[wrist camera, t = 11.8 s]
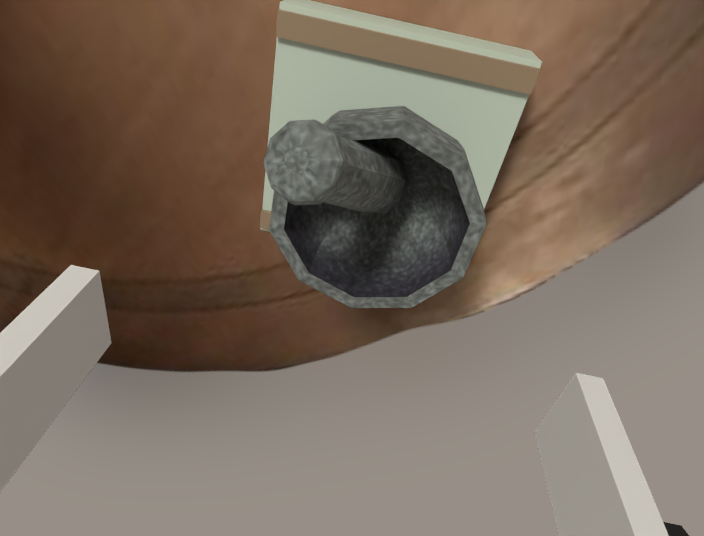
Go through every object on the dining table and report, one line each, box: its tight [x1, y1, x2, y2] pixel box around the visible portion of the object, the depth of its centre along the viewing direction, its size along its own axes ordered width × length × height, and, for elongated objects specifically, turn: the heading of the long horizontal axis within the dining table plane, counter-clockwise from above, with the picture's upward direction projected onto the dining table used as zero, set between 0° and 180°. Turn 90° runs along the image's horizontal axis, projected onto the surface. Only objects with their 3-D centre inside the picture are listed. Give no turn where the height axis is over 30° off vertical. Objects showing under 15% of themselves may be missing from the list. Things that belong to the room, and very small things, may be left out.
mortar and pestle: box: [264, 106, 487, 308], centre depth 22 cm, size 11×9×12 cm
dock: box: [260, 0, 542, 232], centre depth 28 cm, size 13×13×3 cm
